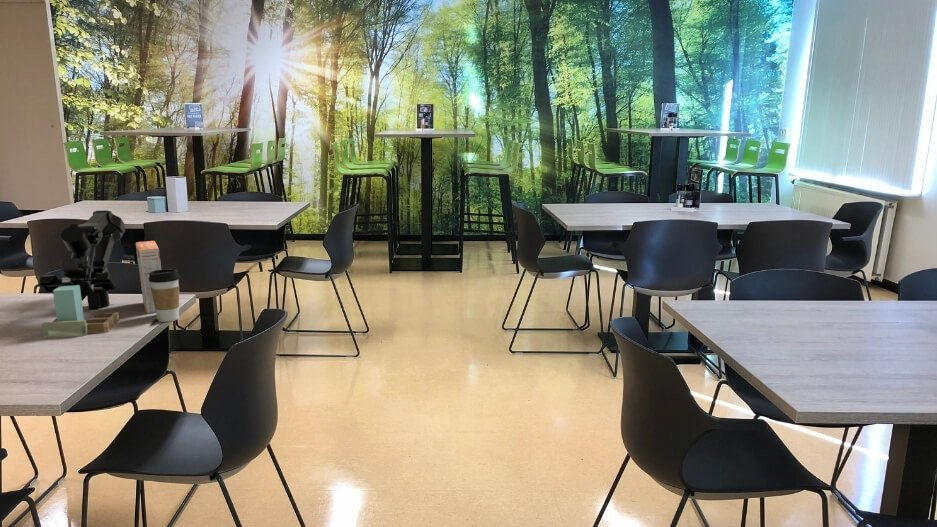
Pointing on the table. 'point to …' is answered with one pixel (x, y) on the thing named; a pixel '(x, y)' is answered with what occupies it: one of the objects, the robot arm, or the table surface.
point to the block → (68, 303)
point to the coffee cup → (165, 293)
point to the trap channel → (81, 326)
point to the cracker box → (147, 270)
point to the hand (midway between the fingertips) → (73, 308)
